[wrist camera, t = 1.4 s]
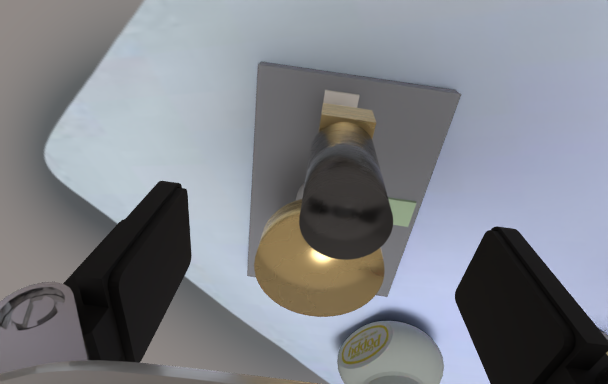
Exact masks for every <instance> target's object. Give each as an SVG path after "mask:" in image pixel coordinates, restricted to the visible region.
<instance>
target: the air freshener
mask: <svg viewBox="0 0 608 384" xmlns="http://www.w3.org/2000/svg"><path fill="white" fill-rule="evenodd" d="M337 362H338V370H339V373H340V376H341V378H342V380H343V382H344V383H345V384H439V383H440V381H441V379H442V376H443V369H444V364H443V357H442V354H441V352H440V350H439V348H438V346H437V345H436V343H435V342H434V341H433V339H432V338H431V337H429V336H428V335H427V334H426V333H425V332H423V331H422V330H420V329H418V328H417V327H414V326H412V325H409V324H406V323H403V322H397V321H378V322H373V323H370V324H367V325H365V326H363V327H361V328H359V329H358V330H356V331H355V332H354V333H352V334H351V335H350V336H349V337H348V338H347V339H346V340H345V342H344V343H343V345H342V346H341V348H340V350H339V354H338V360H337Z"/></svg>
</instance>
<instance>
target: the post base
mask: <svg viewBox="0 0 608 384" xmlns="http://www.w3.org/2000/svg"><path fill="white" fill-rule="evenodd" d="M460 96H461V94H460V93H459V92H457V91H456V90H451V89H444V88H437V87H431V86H424V85H417V84H410V83H403V82H397V81H390V80H383V79H376V78H369V77H362V76H356V75H349V74H342V73H335V72H328V71H321V70H315V69H308V68H301V67H294V66H287V65H280V64H274V63H267V62H260V63H259V64H258V74H257V93H256V113H255V133H254V153H253V172H252V192H251V212H250V232H249V251H248V271H247V276H251V277H256V275H255V270H254V262H255V256H256V253H257V249H258V246H259V243H260V240H261V236H262V233H263V230H264V227H265V225H266V223H267V221H268V220H269V219H270V217H271V216H272V215H273V214H274V213H275V212H276V211H278V210H279V209H280V208H282V207H283V206H285V205H287V204H289V203H291V202H294V201H296V200H300V199H302V198H303V191H304V185H305V179H306V172H307V166H308V160H309V153H310V148H311V144H312V141H313V139H314V137H315V136H316V135H317V133H318V131H319V125H320V118H321V112H322V106H323V103H327V104H334V105H341V106H348V107H355V108H361V109H368V110H372V111H373V114H374V117H375V120H376V126H375V130H374V134H373V138H372V141H373V143H374V147H375V151H376V155H377V158H378V162H379V166H380V170H381V173H382V177H383V181H384V184H385V188H386V192H387V196H388V199H389V203H390V207H391V211H392V214H393V228H392V232H391V234H390V236H389V238H388V240H387V241H386V242H385V243H384V245H383V246H381V250H382V255H383V261H384V268H385V273H384V279H383V283H382V285H381V287H380V289H379V291H378V292H377V294H376V295H378V296H385V297H387V296H388V293H389V291H390V288H391V285H392V282H393V280H394V277H395V274H396V271H397V269H398V266H399V263H400V261H401V258H402V255H403V252H404V250H405V247H406V244H407V241H408V239H409V236H410V233H411V230H412V228H413V225H414V222H415V219H416V217H417V214H418V211H419V208H420V206H421V203H422V200H423V198H424V195H425V192H426V189H427V187H428V184H429V181H430V178H431V176H432V173H433V170H434V167H435V165H436V162H437V159H438V156H439V154H440V151H441V148H442V146H443V143H444V140H445V137H446V135H447V132H448V129H449V126H450V124H451V121H452V118H453V115H454V113H455V110H456V107H457V104H458V102H459V99H460Z"/></svg>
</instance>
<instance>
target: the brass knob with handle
mask: <svg viewBox="0 0 608 384" xmlns="http://www.w3.org/2000/svg"><path fill="white" fill-rule="evenodd" d="M375 126H376V120H375V117H374V114H373V111H372V110H368V109H361V108H355V107H348V106H341V105H334V104H327V103H323V106H322V112H321V118H320V125H319V131H318V133H317V135H316V136H315V137H314V139H313V141H312V144H311V148H310V153H309V160H308V166H307V172H306V179H305V185H304V191H303V198H302V199H300V200H296V201H294V202H291V203H289V204H287V205H285V206H283V207H282V208H280V209H279V210H278V211H276V212H275V213H274V214H273V215H272V216H271V217H270V219H269V220H268V221H267V223H266V225H265V227H264V230H263V233H262V236H261V240H260V243H259V246H258V249H257V253H256V256H255V262H254V270H255V275H256V278H257V281H258V283H259V285H260V287H261V288H262V289H263V291H264V292H265V293H266V294H267V295H268V296H269V297H270V298H271V299H272V300H273V301H274V302H276V303H277V304H279V305H280V306H282V307H284V308H286V309H288V310H291V311H293V312H296V313H300V314H303V315H309V316H317V317H328V316H337V315H342V314H346V313H349V312H352V311H354V310H356V309H358V308H360V307H362V306H363V305H365V304H367V303H368V302H369V301H370V300H371V299H372V298H373V297H374V296H375V295H376V294H377V292H378V291H379V289H380V287H381V285H382V283H383V279H384V273H385V268H384V261H383V255H382V250H381V246H383V245H384V243H385V242H386V241H387V240H388V238H389V236H390V234H391V232H392V228H393V214H392V211H391V207H390V203H389V199H388V196H387V192H386V188H385V184H384V181H383V177H382V173H381V170H380V166H379V162H378V158H377V155H376V151H375V147H374V143H373V141H372V138H373V134H374V130H375Z"/></svg>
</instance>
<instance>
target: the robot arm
mask: <svg viewBox="0 0 608 384" xmlns="http://www.w3.org/2000/svg"><path fill="white" fill-rule="evenodd" d="M190 262H191V242H190V226H189V211H188V195H187V190H186V189H183V188H182V186H181V184H180V183H174V182H166V181H160V182H158V183H157V184H156V186H155V187H154V188H153V189H152V190H151V191H150V192H149V193H148V194H147V196H146V197H145V198H144V199H143V200H142V201H141V202H140V203H139V204H138V205H137V207H136V208H135V209H134V210H133V211H132V212H131V213H130V214H129V215H128V217H127V218H126V219H124V220H122V221H121V222H119V223H118V224H117V225H116V227H115V228H114V229H113V230H112V231H111V232H110V233H109V234H108V235H107V236H106V238H105V239H104V240H103V241H102V242H101V243H100V244H99V245H98V246H97V248H95V250H94V251H93V252H92V253H91V254H90V255H89V256H88V257H87V258H86V260H84V262H83V263H82V264H81V265H80V266H79V267H78V268H77V269H76V270H75V271H74V272H73V274H72V275H71V276H70V277H69V278H68V279H67V280H66V281H65V282H64V283H63V284H62V283H57V282H42V283H37V284H33V285H29V286H27V287H24V288H21V289H19V290H17V291H15V292H13V293H12V294H10V295H8V296H6V297H5V298H4V299H3V300H1V301H0V384H318V383H310V382H302V381H294V380H286V379H277V378H269V377H261V376H253V375H245V374H237V373H228V372H220V371H212V370H204V369H194V368H185V367H176V366H166V365H157V364H147V363H139V362H140V361H141V360H142V358H143V356H144V354H145V352H146V350H147V348H148V346H149V344H150V342H151V340H152V338H153V336H154V334H155V332H156V331H157V329H158V327H159V325H160V322H161V321H162V319H163V317H164V315H165V313H166V311H167V309H168V307H169V305H170V303H171V301H172V299H173V297H174V295H175V293H176V291H177V289H178V287H179V285H180V283H181V281H182V279H183V277H184V275H185V273H186V271H187V269H188V267H189V265H190ZM455 300H456V303H457V306H458V308H459V310H460V313H461V315H462V318H463V320H464V322H465V325H466V327H467V329H468V332H469V334H470V336H471V339H472V341H473V343H474V346H475V348H476V350H477V353H478V355H479V357H480V360H481V362H482V364H483V367H484V369H485V372H486V374H487V376H488V379H489V381H490V383H491V384H608V355H607V354H606V353H607V352H608V340H607V339H606V337H605V336H604V335H603V334H602V333H601V331H600V330H599V329H598V328H597V326H596V325H595V324H594V323H593V322H592V320H591V319H590V318H589V317H588V315H587V314H586V313H585V312H584V311H583V309H582V308H581V307H580V306H579V305H578V303H577V302H576V301H575V300H574V298H573V297H572V296H571V295H570V294H569V292H568V291H567V290H566V289H565V287H564V286H563V285H562V284H561V283H560V281H559V280H558V279H557V278H556V276H555V275H554V274H553V273H552V272H551V270H550V269H549V268H548V267H547V266H546V264H545V263H544V262H543V261H542V259H541V258H540V257H539V256H538V255H537V253H536V252H535V251H534V250H533V248H532V247H531V246H530V245H529V244H528V242H527V241H526V240H525V239H524V237H523V236H522V235H521V234H520V233H519V231H517V230H516V229H511V228H504V227H494V228H492V229H491V230H489V231H487V232H486V233H485V234H484V236H483V238H482V240H481V242H480V244H479V246H478V248H477V250H476V252H475V254H474V256H473V258H472V260H471V262H470V264H469V266H468V268H467V270H466V272H465V274H464V276H463V278H462V280H461V282H460V284H459V285H458V287H457V289H456V292H455Z"/></svg>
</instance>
